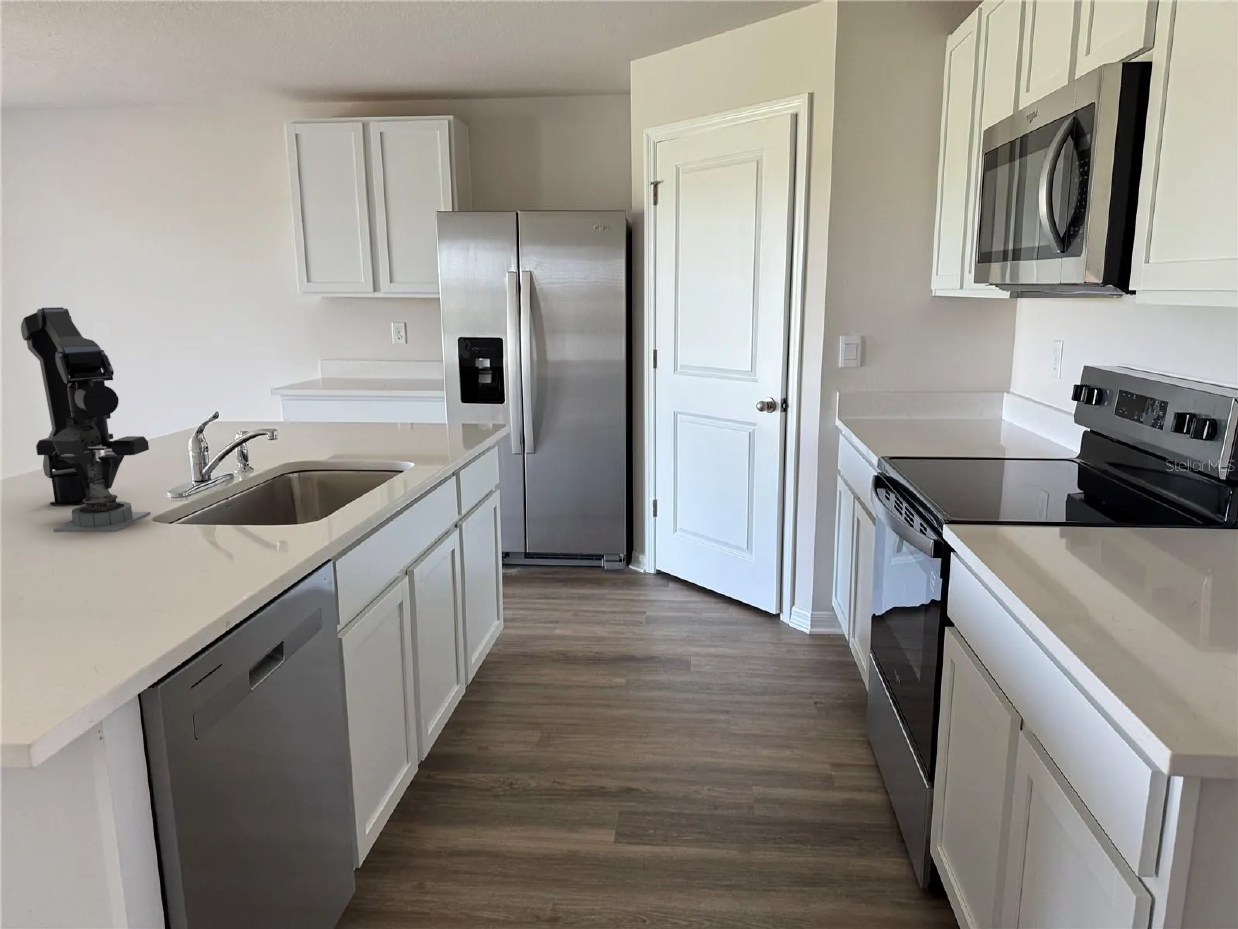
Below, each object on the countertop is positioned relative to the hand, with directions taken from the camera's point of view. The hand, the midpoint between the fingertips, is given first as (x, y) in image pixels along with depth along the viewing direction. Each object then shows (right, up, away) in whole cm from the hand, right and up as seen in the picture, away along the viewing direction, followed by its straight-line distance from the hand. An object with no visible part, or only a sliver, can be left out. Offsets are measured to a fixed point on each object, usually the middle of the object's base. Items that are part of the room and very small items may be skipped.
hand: (98, 488), depth 163 cm
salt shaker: (0, -6, +1) cm, 6 cm away
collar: (0, -7, +1) cm, 7 cm away
